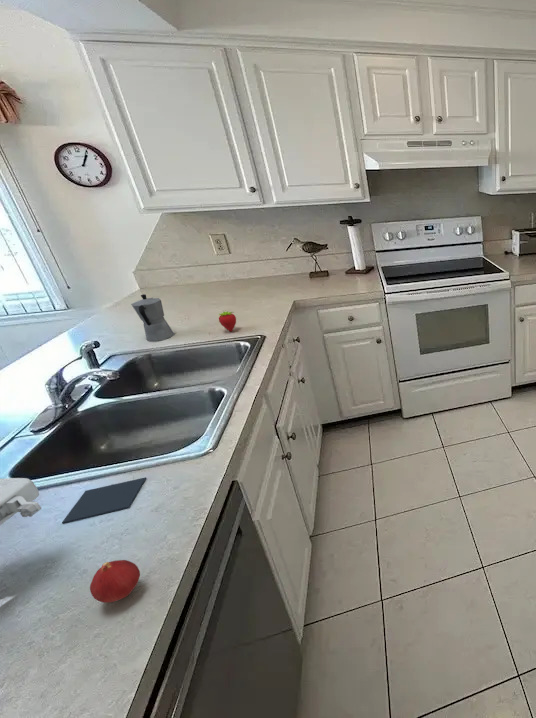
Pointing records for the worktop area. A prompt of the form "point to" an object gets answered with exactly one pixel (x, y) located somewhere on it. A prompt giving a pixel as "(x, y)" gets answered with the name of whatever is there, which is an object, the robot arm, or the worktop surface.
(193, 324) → the worktop surface
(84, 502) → the pad
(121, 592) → the red oval piece
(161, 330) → the coffeepot
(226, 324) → the strawberry
